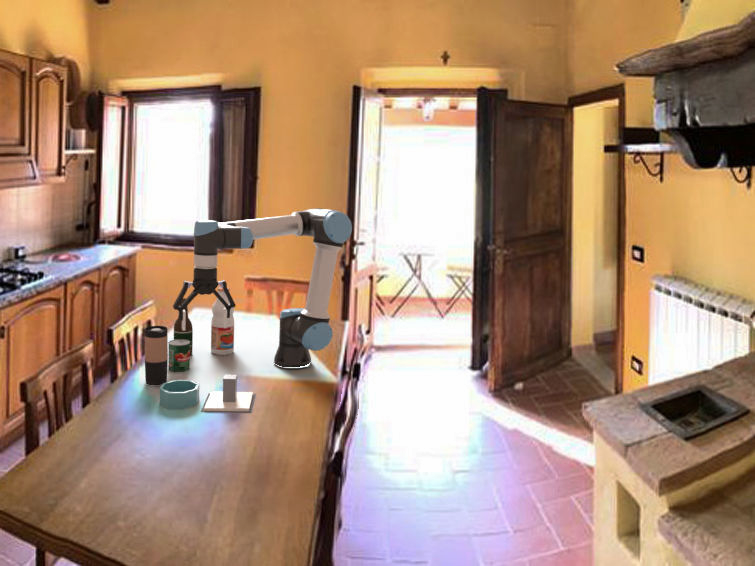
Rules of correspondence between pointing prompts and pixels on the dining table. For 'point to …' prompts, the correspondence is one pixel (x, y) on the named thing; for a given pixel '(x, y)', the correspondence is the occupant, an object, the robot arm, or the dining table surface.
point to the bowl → (179, 394)
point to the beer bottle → (188, 328)
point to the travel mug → (156, 355)
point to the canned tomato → (179, 356)
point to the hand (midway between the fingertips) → (204, 328)
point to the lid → (229, 397)
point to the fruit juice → (219, 335)
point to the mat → (232, 411)
